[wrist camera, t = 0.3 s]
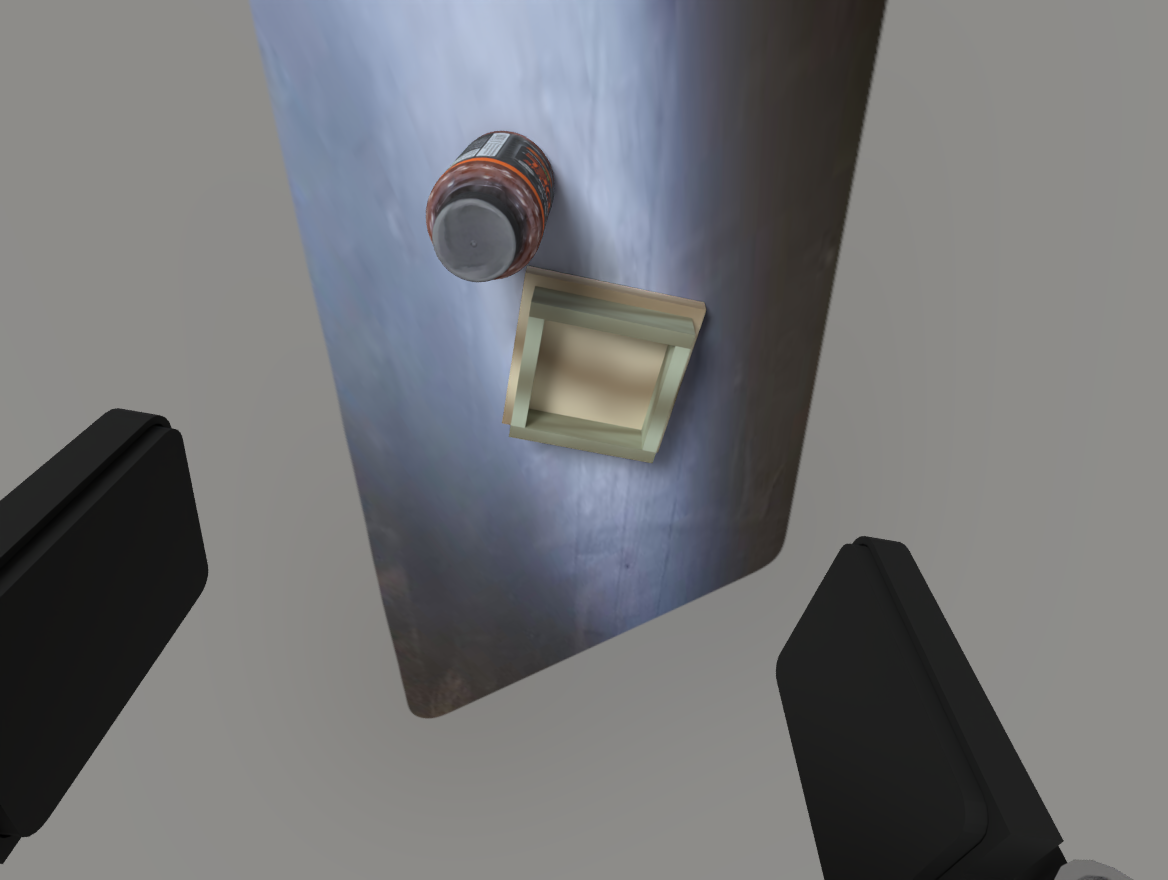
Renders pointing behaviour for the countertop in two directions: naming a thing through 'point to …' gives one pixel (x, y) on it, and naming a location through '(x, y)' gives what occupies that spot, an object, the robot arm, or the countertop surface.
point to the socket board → (597, 364)
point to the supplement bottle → (491, 207)
